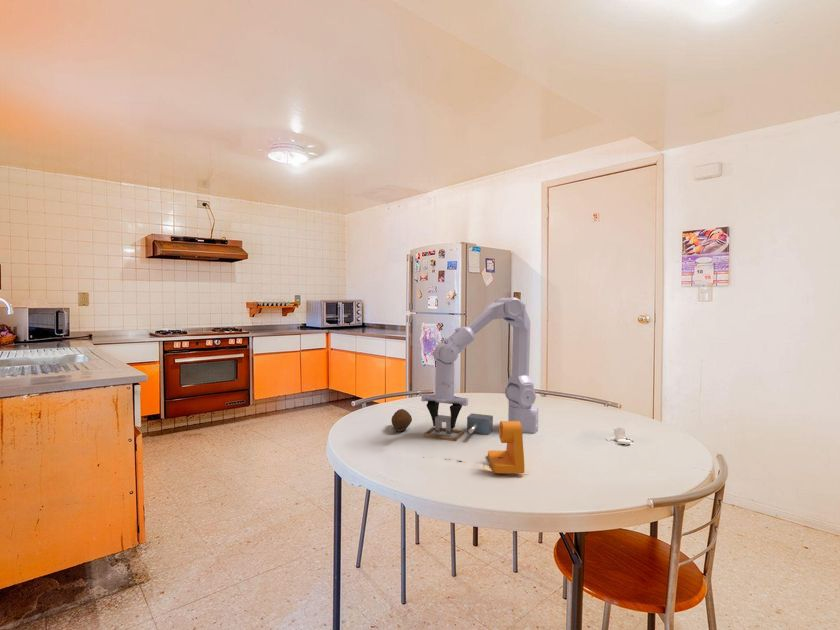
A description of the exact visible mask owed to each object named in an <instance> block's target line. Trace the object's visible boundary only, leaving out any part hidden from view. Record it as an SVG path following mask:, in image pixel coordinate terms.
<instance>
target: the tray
mask: <svg viewBox="0 0 840 630" xmlns="http://www.w3.org/2000/svg"><path fill="white" fill-rule="evenodd" d="M432 432H435V426H432V427H431V428H430V429H428V430H426V431H425V432H423V434H422V437H423V438H431V439H437V440H445V441H451V442H452V441H453V442H457V441H458V440H459V439H460V438H461V437H462V436H463V435H465V430H464V429H463V430H461V429H455V428H453V433H452V434H457V435H455V436H454V437H453V436H448V435H442V434H441V435H440V434H432ZM441 432H444V433H446V427H442V431H441Z"/></svg>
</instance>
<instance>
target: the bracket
mask: <svg viewBox="0 0 840 630" xmlns="http://www.w3.org/2000/svg"><path fill="white" fill-rule="evenodd" d="M498 428H499V429H498V430H499V440H500V442H501V444H506V448H505V449H506V450H488V451H487V458H488V460H489V463H490V464H489V468H490V469H491V472H492V473H496V474H525V455H524V454H525V453H524V439H523V432H522V426H521V423H520V421H508V420H500V422H499V427H498Z"/></svg>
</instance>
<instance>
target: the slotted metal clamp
mask: <svg viewBox="0 0 840 630" xmlns="http://www.w3.org/2000/svg"><path fill="white" fill-rule="evenodd" d="M443 423H445V424H446V425H445V428H446V432H445V435H452V434H454V433H453V429H454V428H453V429H451V415H443V414H438V415H437V416H435V426H434V427H435V430H434V433H435V434H436V433H437V434H440V433H442V432H443V431H442V428H443Z"/></svg>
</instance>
